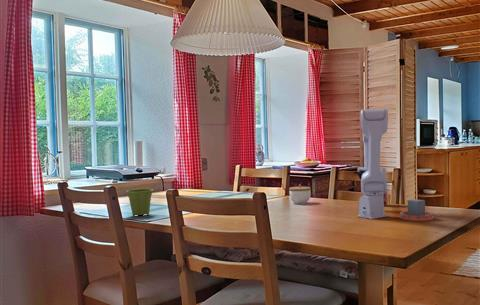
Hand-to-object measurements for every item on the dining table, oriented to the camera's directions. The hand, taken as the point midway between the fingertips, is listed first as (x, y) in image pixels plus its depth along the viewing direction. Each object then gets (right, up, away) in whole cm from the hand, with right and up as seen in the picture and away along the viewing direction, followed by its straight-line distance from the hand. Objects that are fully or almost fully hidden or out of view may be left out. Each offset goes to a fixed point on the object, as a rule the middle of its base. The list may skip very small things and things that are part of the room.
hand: (371, 189), depth 202 cm
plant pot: (-101, -12, +6) cm, 102 cm away
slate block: (+11, -9, -21) cm, 25 cm away
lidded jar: (-27, -10, +30) cm, 41 cm away
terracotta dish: (+11, -10, -21) cm, 26 cm away
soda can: (+8, -9, +15) cm, 19 cm away
